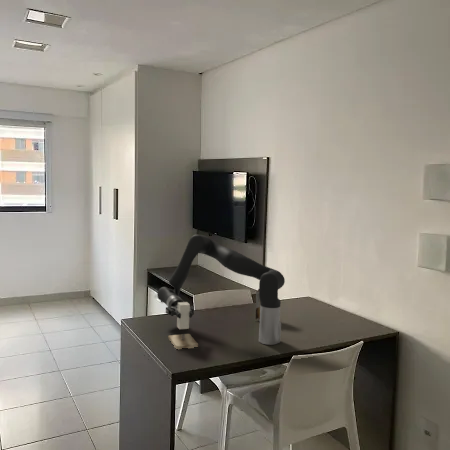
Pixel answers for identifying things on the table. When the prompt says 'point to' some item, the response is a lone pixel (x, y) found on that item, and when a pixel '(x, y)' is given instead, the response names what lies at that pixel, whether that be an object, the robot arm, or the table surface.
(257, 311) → the coffee box
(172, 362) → the table surface
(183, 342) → the pin dock
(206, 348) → the table surface
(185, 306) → the block
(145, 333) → the table surface
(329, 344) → the table surface
